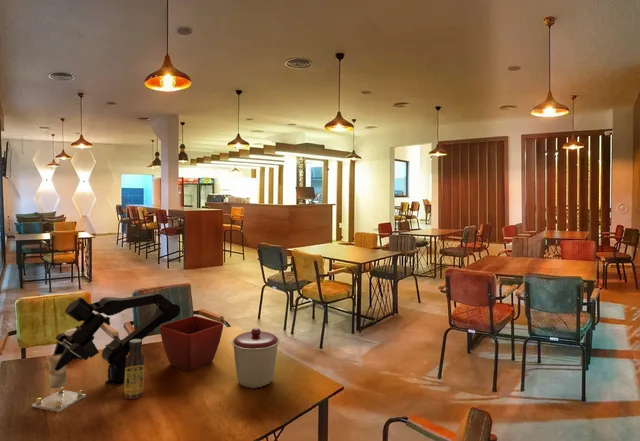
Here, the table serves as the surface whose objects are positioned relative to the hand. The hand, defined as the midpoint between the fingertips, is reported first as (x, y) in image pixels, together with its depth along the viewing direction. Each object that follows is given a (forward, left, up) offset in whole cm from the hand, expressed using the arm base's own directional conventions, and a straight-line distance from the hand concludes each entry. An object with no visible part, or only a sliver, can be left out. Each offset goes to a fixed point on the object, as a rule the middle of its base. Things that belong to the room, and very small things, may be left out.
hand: (53, 367), depth 139 cm
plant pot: (-26, -42, -12) cm, 51 cm away
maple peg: (-1, -1, -6) cm, 7 cm away
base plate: (-2, 0, -11) cm, 12 cm away
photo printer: (+25, -33, -12) cm, 43 cm away
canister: (-59, -34, -12) cm, 70 cm away
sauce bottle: (-23, -11, -12) cm, 28 cm away
